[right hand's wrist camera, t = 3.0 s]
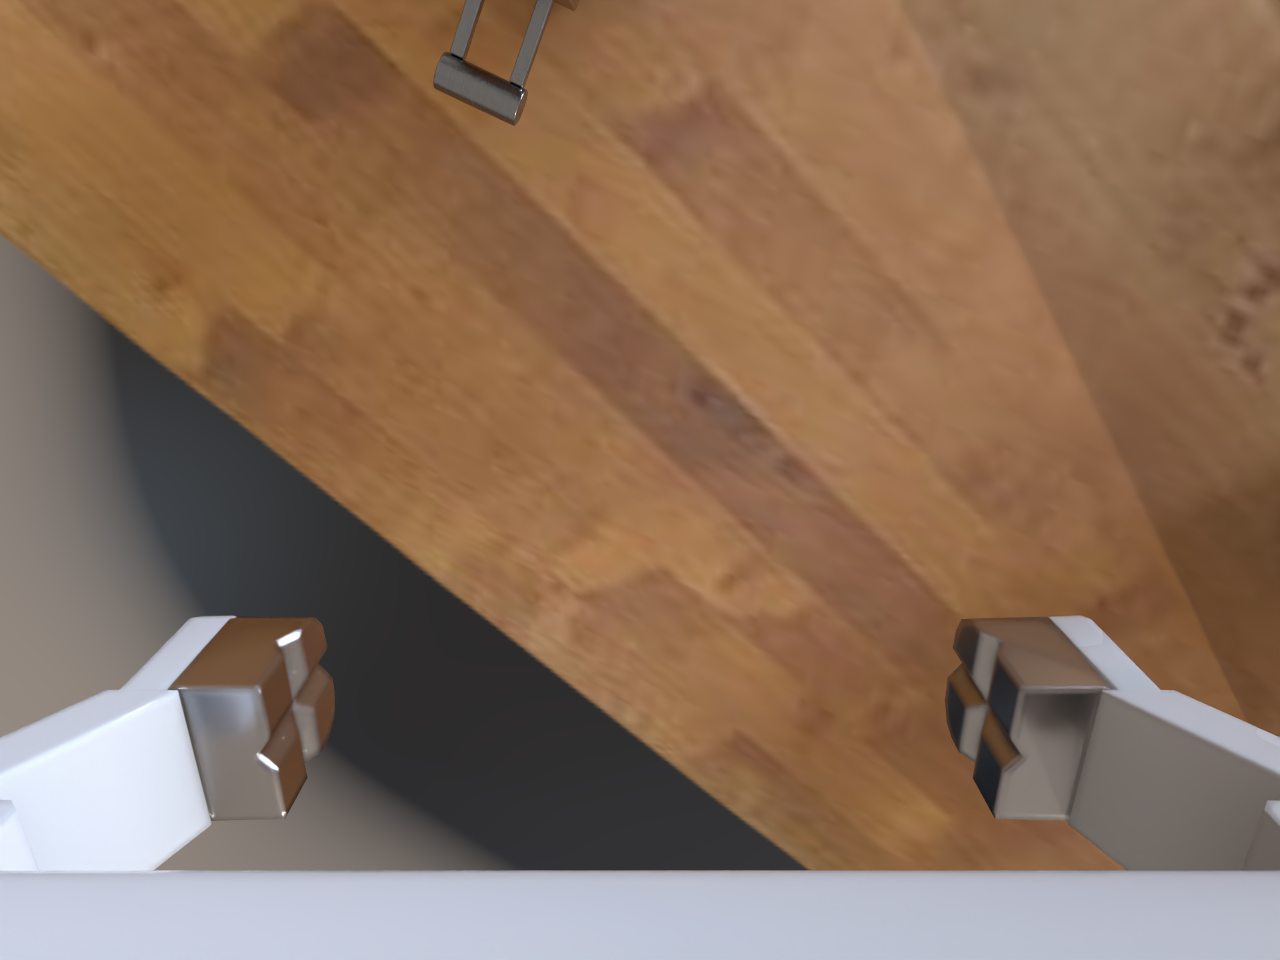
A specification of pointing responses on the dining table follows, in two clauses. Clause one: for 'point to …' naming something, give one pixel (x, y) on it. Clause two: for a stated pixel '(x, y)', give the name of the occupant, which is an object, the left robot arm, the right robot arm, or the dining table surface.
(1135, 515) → the dining table surface
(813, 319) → the dining table surface
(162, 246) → the dining table surface
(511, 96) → the drawer
